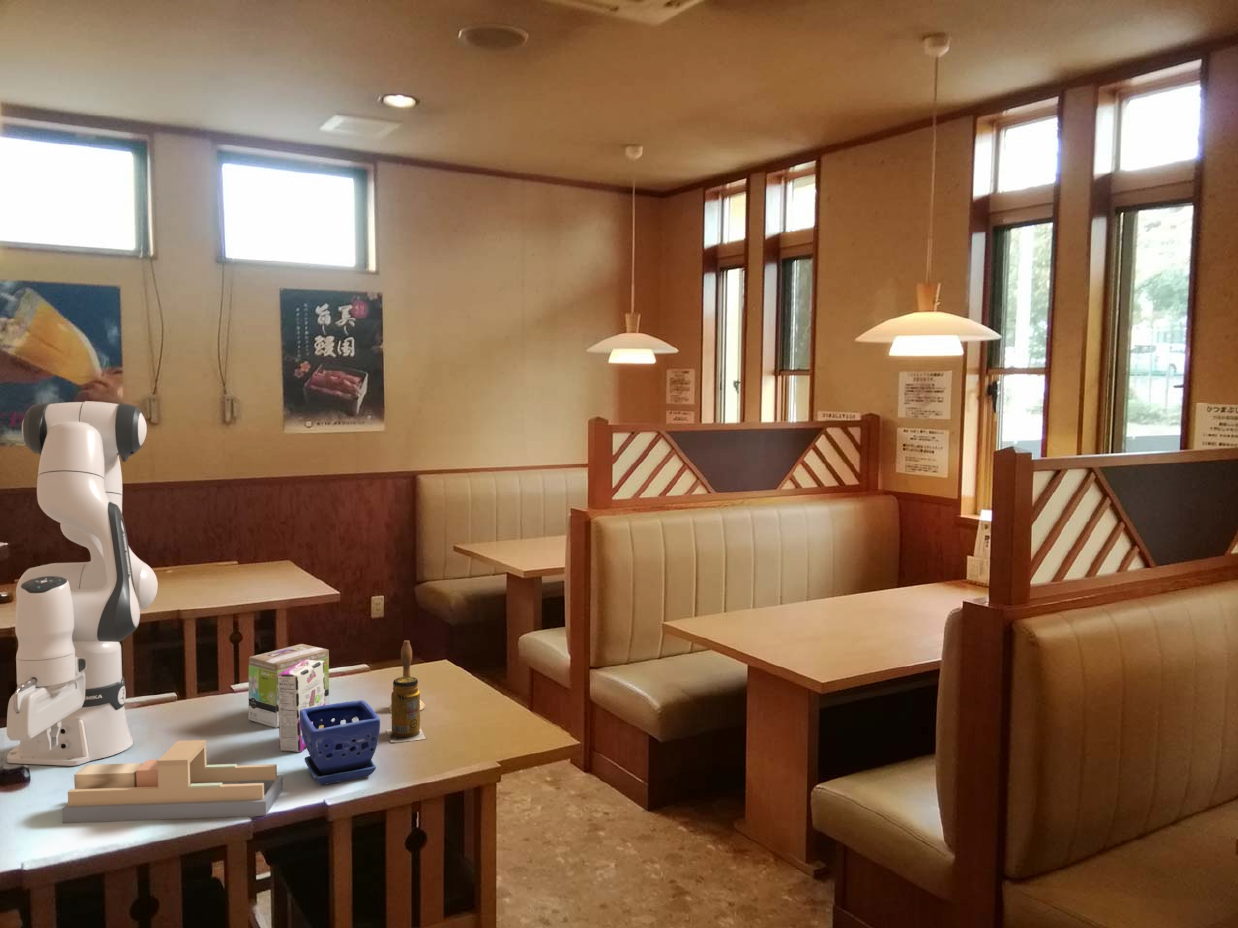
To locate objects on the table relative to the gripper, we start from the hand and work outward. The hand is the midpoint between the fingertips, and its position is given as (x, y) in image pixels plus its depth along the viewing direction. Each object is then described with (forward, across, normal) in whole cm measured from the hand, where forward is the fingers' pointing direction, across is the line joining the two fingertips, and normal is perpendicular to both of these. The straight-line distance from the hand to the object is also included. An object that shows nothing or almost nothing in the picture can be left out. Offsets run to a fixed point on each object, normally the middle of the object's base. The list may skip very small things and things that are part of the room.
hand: (48, 749), depth 167 cm
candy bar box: (+10, +30, -36) cm, 48 cm away
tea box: (+10, +48, -29) cm, 57 cm away
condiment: (+11, +33, -57) cm, 67 cm away
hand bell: (+10, +51, -55) cm, 76 cm away
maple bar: (+9, +1, -10) cm, 13 cm away
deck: (+11, +1, -21) cm, 24 cm away
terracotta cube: (+9, +1, -18) cm, 20 cm away
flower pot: (+11, +13, -47) cm, 50 cm away
